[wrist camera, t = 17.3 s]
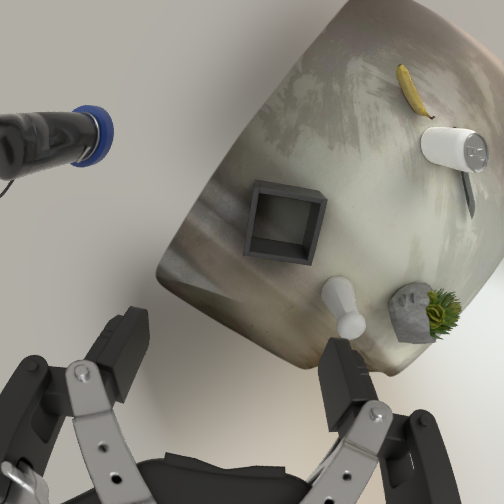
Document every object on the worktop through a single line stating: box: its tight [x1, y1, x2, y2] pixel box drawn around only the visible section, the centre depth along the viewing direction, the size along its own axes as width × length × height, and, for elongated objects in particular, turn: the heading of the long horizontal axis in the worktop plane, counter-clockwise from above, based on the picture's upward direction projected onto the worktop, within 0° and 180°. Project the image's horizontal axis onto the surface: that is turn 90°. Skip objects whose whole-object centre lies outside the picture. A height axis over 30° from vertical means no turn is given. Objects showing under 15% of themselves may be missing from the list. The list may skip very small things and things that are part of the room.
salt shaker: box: [321, 276, 366, 340], centre depth 42 cm, size 6×6×13 cm
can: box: [421, 127, 489, 173], centre depth 32 cm, size 6×6×12 cm
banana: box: [397, 64, 435, 120], centre depth 32 cm, size 10×2×4 cm, turn 38°
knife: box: [453, 127, 475, 219], centre depth 37 cm, size 18×2×3 cm, turn 27°
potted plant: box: [388, 283, 462, 344], centre depth 44 cm, size 12×13×15 cm
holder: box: [243, 180, 327, 266], centre depth 41 cm, size 10×10×6 cm
